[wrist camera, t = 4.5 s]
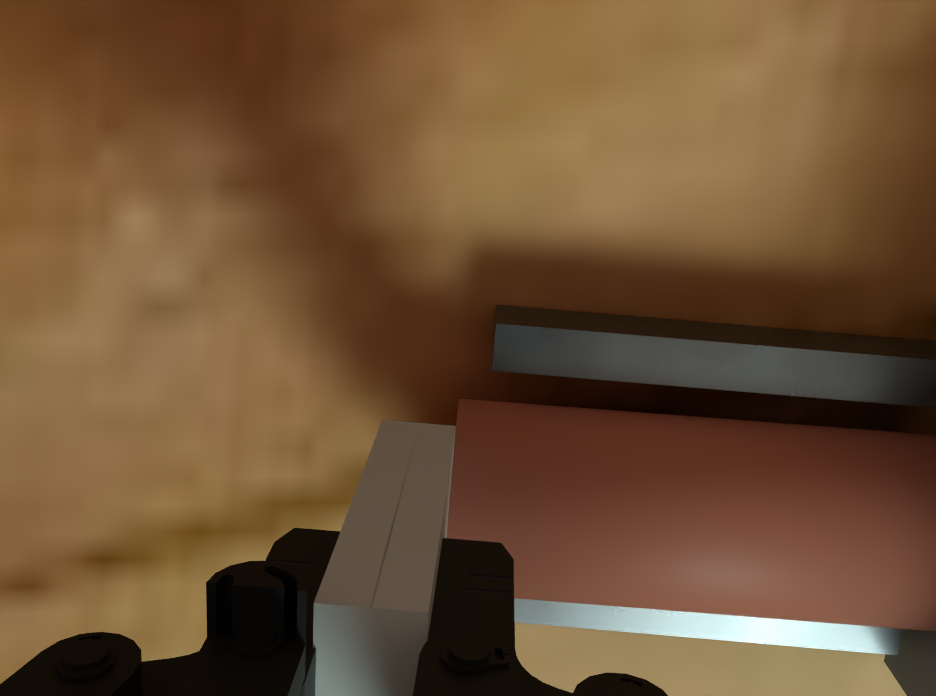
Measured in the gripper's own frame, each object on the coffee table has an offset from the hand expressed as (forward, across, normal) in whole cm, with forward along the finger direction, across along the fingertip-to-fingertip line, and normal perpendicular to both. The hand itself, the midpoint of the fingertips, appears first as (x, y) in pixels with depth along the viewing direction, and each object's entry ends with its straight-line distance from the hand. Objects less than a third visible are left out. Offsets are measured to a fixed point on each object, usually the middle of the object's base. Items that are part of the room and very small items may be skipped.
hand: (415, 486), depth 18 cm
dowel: (+3, -6, 0) cm, 6 cm away
